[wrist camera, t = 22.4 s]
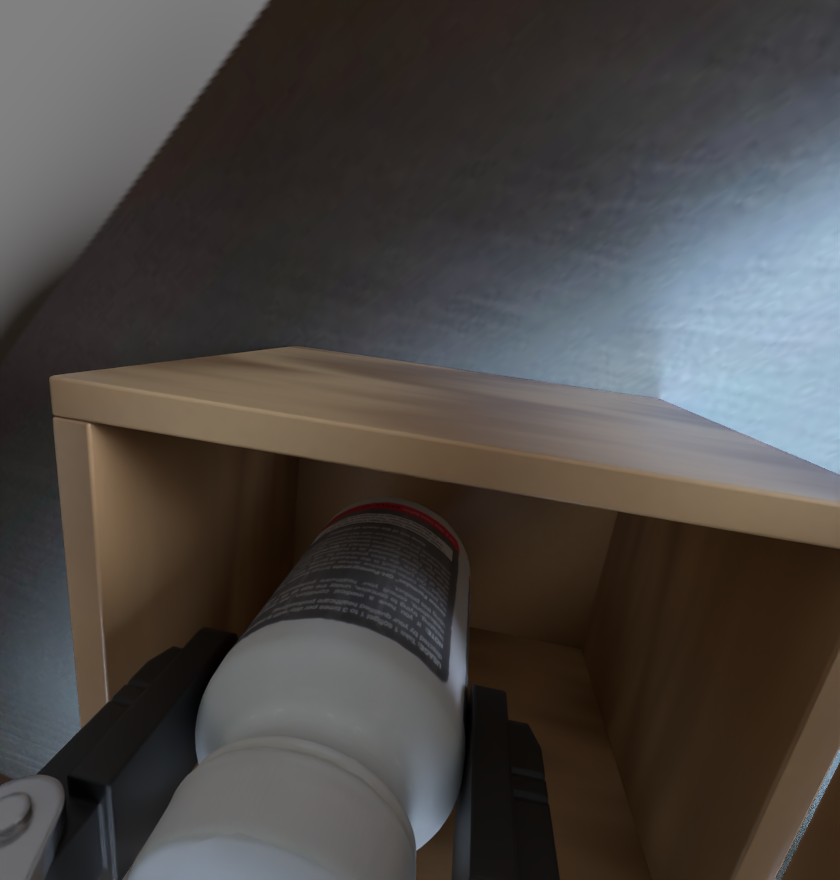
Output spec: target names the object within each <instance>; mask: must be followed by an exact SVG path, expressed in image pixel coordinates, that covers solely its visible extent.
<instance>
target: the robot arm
mask: <svg viewBox="0 0 840 880" xmlns="http://www.w3.org/2000/svg"><path fill="white" fill-rule="evenodd" d="M237 641H238V636H237V634H236V633H231V632H227V631H222V630H217V629H212V628H208V627H204V628H202V629H200V630H199V631H198V632H197V633H196V634H195V635H194V636H193V638H192V639H191V640H190V641H189V642H188V643H187V644H186V645H185V646H184V647H183V648H179V647H175V646H173V647H171V648H169V649H167V650H166V651H164V652H162V653H161V654H159V655H157V656H156V657H154V658H152V659H151V660H149V661H148V662H147V663H146V664H145V665H144V666H143V667H142V668H141V669H140V670H139V671H138V672H137V673H136V674H135V675H134V676H133V677H132V678H131V679H130V680H129V683H128V684H127V685H126V684H125V685H124V686H123V687H122V688H121V689H120V690H119V691H118V692H117V693H116V694H115V695H114V696H113V699H112V701H111V702H109V701H108V702H107V703H106V704H105V706H104V707H103V708H102V709H101V710H100V711H99V712H98V713H97V714H96V715H95V716H94V717H93V718H92V719H91V720H90V721H89V722H88V723H87V724H86V725H85V726H84V727H83V728H82V729H81V730H80V731H79V732H78V733H77V734H76V735H75V736H74V737H73V738H72V739H71V740H70V741H69V742H68V743H67V744H66V745H65V746H64V747H63V748H62V749H61V750H60V751H59V752H58V753H57V754H56V755H55V756H54V757H53V758H52V759H51V761H50V762H49V763H48V764H47V765H46V766H45V767H44V768H43V769H41V770H40V771H39V772H38V773H37V774H36V775H30V776H25V777H21V778H18V779H14V780H12V781H9V782H7V783H5V784H3V785H1V786H0V880H122V879H123V877H124V876H125V874H126V873H127V871H128V870H129V868H130V867H131V865H132V863H133V862H134V860H135V859H136V857H137V856H138V854H139V853H140V851H141V849H142V848H143V846H144V845H145V843H146V842H147V840H148V838H149V837H150V835H151V834H152V832H153V830H154V829H155V827H156V825H157V824H158V822H159V820H160V819H161V817H162V816H163V814H164V812H165V811H166V809H167V807H168V805H169V804H170V801H171V799H172V797H173V795H174V793H175V791H176V789H177V788H178V786H179V785H180V783H181V782H182V781H183V780H184V779H185V777H186V776H187V775H188V774H190V773H191V772H192V770H193V769H194V767H195V765H196V764H197V762H198V759H197V754H196V743H195V727H196V719H197V714H198V709H199V706H200V702H201V699H202V696H203V694H204V692H205V690H206V688H207V685H208V683H209V681H210V679H211V678H212V676H213V675H214V673H215V672H216V670H217V669H218V667H219V665H220V664H221V662H222V661H223V659H224V658H225V656H226V655H227V653H228V652H229V651H230V649H231V648H232V647H233V646H234V645H235V643H236V642H237ZM451 880H560V876H559V869H558V862H557V855H556V848H555V841H554V834H553V827H552V820H551V813H550V806H549V804H548V792H547V785H546V781H545V771H544V764H543V757H542V750H541V747H540V745H539V743H538V741H537V739H536V738H535V736H534V734H533V732H532V730H531V728H530V726H529V724H527V723H522V722H517V721H513V720H508V710H507V696H506V692H505V691H503V690H498V689H494V688H489V687H484V686H479V685H475V684H472V686H471V690H470V695H469V700H468V705H467V712H466V754H465V762H464V770H463V778H462V783H461V787H460V791H459V794H458V797H457V800H456V802H455V821H454V840H453V859H452V878H451Z"/></svg>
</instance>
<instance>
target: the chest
mask: <svg viewBox="0 0 840 880" xmlns="http://www.w3.org/2000/svg"><path fill="white" fill-rule="evenodd" d="M49 382H50V393H51V404H52V413H53V415H55V416H56V417H54V418H53V430H54V441H55V452H56V462H57V473H58V484H59V495H60V506H61V517H62V528H63V538H64V549H65V560H66V571H67V582H68V593H69V604H70V614H71V625H72V636H73V647H74V658H75V669H76V680H77V691H78V701H79V712H80V723H81V729H82V728H83V727H84V726H85V725H86V724H87V723H88V722H89V721H90V720H91V719H92V718H93V717H94V716H95V715H96V714H97V713H98V712H99V711H100V710H101V709H102V708H103V707H104V706H105V704H106V703H107V702H108V701H109V702H111V701H112V699H113V696H114V695H115V694H116V693H117V692H118V691H119V690H120V689H121V688H122V687H123V686H124V685H125V684H126V685H127V684H128V683H129V680H130V679H131V678H132V677H133V676H134V675H135V674H136V673H137V672H138V671H139V670H140V669H141V668H142V667H143V666H144V665H145V664H146V663H147V662H148V661H149V660H151V659H152V658H154V657H156V656H157V655H159V654H161V653H162V652H164V651H166V650H167V649H169V648H171V647H173V646H175V647H179V648H183V647H184V646H185V645H186V644H187V643H188V642H189V641H190V640H191V639H192V638H193V636H194V635H195V634H196V633H197V632H198V631H199V630H200V629H202V628H204V627H208V628H212V629H217V630H222V631H227V632H231V633H236V634H237V636H238V640H239V638H240V637H241V636H242V635H243V634H244V632H245V631H246V629H247V628H248V627H249V625H250V624H251V623H252V621H253V620H254V619H255V617H256V616H257V615H258V614H259V612H260V611H261V610H262V608H263V607H264V606H265V604H266V603H267V602H268V600H269V599H270V598H271V597H272V595H273V594H274V592H275V591H276V590H277V588H278V587H279V586H280V585H281V583H282V582H283V581H284V580H285V578H286V577H287V576H288V574H289V573H290V572H291V570H292V569H293V568H294V566H295V565H296V564H297V562H298V561H299V560H300V559H301V557H302V556H303V554H304V553H305V552H306V550H307V549H308V548H309V546H310V545H311V543H312V542H313V541H314V540H315V538H316V537H317V536H318V534H319V533H320V532H321V530H322V529H323V528H324V527H325V526H326V524H327V523H328V522H329V521H330V520H331V519H332V518H333V517H334V516H335V515H336V514H337V513H339V512H340V511H341V510H343V509H344V508H346V507H347V506H349V505H351V504H353V503H356V502H358V501H361V500H365V499H369V498H375V497H396V498H403V499H406V500H410V501H413V502H416V503H418V504H420V505H422V506H424V507H427V508H428V509H430V510H431V511H433V512H434V513H436V514H437V515H439V516H441V517H442V518H443V519H444V520H445V521H447V522H448V524H449V525H450V526H451V527H452V528H453V530H454V531H455V532H456V534H457V535H458V537H459V538H460V540H461V542H462V544H463V546H464V548H465V551H466V553H467V556H468V561H469V566H470V622H469V652H468V684H467V691H468V700H469V695H470V690H471V686H472V684H475V685H479V686H484V687H489V688H494V689H498V690H503V691H505V692H506V696H507V710H508V720H513V721H517V722H522V723H527V724H529V726H530V728H531V730H532V732H533V734H534V736H535V738H536V739H537V741H538V743H539V745H540V747H541V750H542V757H543V764H544V771H545V781H546V785H547V792H548V804H549V806H550V813H551V820H552V827H553V834H554V841H555V848H556V855H557V862H558V869H559V876H560V880H775V878H776V876H777V874H778V872H779V870H780V868H781V866H782V864H783V862H784V860H785V858H786V856H787V854H788V852H789V850H790V848H791V846H792V844H793V842H794V840H795V838H796V836H797V834H798V831H799V829H800V827H801V825H802V823H803V821H804V819H805V817H806V815H807V813H808V811H809V809H810V807H811V805H812V803H813V801H814V799H815V797H816V795H817V793H818V791H819V789H820V787H821V785H822V783H823V781H824V779H825V777H826V775H827V773H828V771H829V769H830V767H831V765H832V762H833V760H834V758H835V756H836V754H837V752H838V750H839V748H840V475H839V474H836V473H834V472H832V471H829V470H827V469H825V468H822V467H820V466H818V465H815V464H813V463H810V462H808V461H806V460H803V459H801V458H799V457H796V456H794V455H792V454H789V453H787V452H784V451H782V450H780V449H777V448H775V447H773V446H770V445H768V444H765V443H763V442H761V441H758V440H756V439H754V438H751V437H749V436H747V435H744V434H742V433H739V432H737V431H735V430H732V429H730V428H728V427H725V426H723V425H721V424H718V423H716V422H713V421H711V420H709V419H706V418H704V417H702V416H699V415H697V414H695V413H692V412H690V411H687V410H685V409H683V408H680V407H678V406H676V405H673V404H671V403H668V402H666V401H664V400H661V399H657V398H651V397H644V396H637V395H630V394H623V393H616V392H610V391H603V390H596V389H589V388H582V387H575V386H569V385H562V384H555V383H548V382H541V381H534V380H528V379H521V378H514V377H507V376H500V375H493V374H487V373H480V372H473V371H466V370H459V369H452V368H446V367H439V366H432V365H425V364H418V363H411V362H405V361H398V360H391V359H384V358H377V357H370V356H364V355H357V354H350V353H343V352H336V351H329V350H323V349H316V348H309V347H302V346H291V347H282V348H274V349H266V350H258V351H250V352H241V353H233V354H225V355H217V356H209V357H201V358H192V359H184V360H176V361H168V362H160V363H151V364H143V365H135V366H127V367H119V368H110V369H102V370H94V371H86V372H78V373H69V374H61V375H54V376H51V377H50V379H49ZM467 705H468V704H467ZM198 765H199V764H198V762H197V764H196V765H195V767H194V769H196V767H197V766H198ZM194 769H193V770H194ZM193 770H192V771H193ZM454 821H455V804H454V807H453V809H452V811H451V813H450V815H449V816H448V818H447V820H446V821H445V823H444V824H443V825H442V827H441V828H440V829H439V831H438V832H437V833H436V834H435V835H434V836H433V837H432V838H431V839H430V840H429V841H428V842H427V843H425V844H424V845H423V846H422V847H421V848H419V849H418V850H417V851H416V880H451V878H452V859H453V840H454ZM143 847H144V846H143ZM141 850H142V849H141ZM138 855H139V854H138ZM136 858H137V857H136ZM135 860H136V859H135ZM135 860H134V861H135Z"/></svg>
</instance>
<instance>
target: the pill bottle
mask: <svg viewBox="0 0 840 880" xmlns="http://www.w3.org/2000/svg"><path fill="white" fill-rule="evenodd" d="M469 622H470V566H469V561H468V556H467V553H466V551H465V548H464V546H463V544H462V542H461V540H460V538H459V537H458V535H457V534H456V532H455V531H454V530H453V528H452V527H451V526H450V525H449V524H448V522H447V521H445V520H444V519H443V518H442V517H441V516H439V515H437V514H436V513H434V512H433V511H431V510H430V509H428V508H427V507H424V506H422V505H420V504H418V503H416V502H413V501H410V500H406V499H403V498H396V497H375V498H369V499H365V500H361V501H358V502H356V503H353V504H351V505H349V506H347V507H346V508H344V509H343V510H341V511H340V512H339V513H337V514H336V515H335V516H334V517H333V518H332V519H331V520H330V521H329V522H328V523H327V524H326V526H325V527H324V528H323V529H322V530H321V532H320V533H319V534H318V536H317V537H316V538H315V540H314V541H313V542H312V543H311V545H310V546H309V548H308V549H307V550H306V552H305V553H304V554H303V556H302V557H301V559H300V560H299V561H298V562H297V564H296V565H295V566H294V568H293V569H292V570H291V572H290V573H289V574H288V576H287V577H286V578H285V580H284V581H283V582H282V583H281V585H280V586H279V587H278V588H277V590H276V591H275V592H274V594H273V595H272V597H271V598H270V599H269V600H268V602H267V603H266V604H265V606H264V607H263V608H262V610H261V611H260V612H259V614H258V615H257V616H256V617H255V619H254V620H253V621H252V623H251V624H250V625H249V627H248V628H247V629H246V631H245V632H244V634H243V635H242V636H241V637H240V638H239V640H238V641H237V642H236V643H235V645H234V646H233V647H232V648H231V649H230V651H229V652H228V653H227V655H226V656H225V658H224V659H223V661H222V662H221V664H220V665H219V667H218V669H217V670H216V672H215V673H214V675H213V676H212V678H211V679H210V681H209V683H208V685H207V688H206V690H205V692H204V694H203V696H202V699H201V702H200V706H199V709H198V714H197V719H196V727H195V743H196V754H197V759H198V764H199V765H198V766H197V767H196V769H194V770H193V771H192V772H191V773H190V774H188V775H187V776H186V777H185V779H184V780H183V781H182V782H181V783H180V785H179V786H178V788H177V789H176V791H175V793H174V795H173V797H172V799H171V801H170V804H169V805H168V807H167V809H166V811H165V812H164V814H163V816H162V817H161V819H160V820H159V822H158V824H157V825H156V827H155V829H154V830H153V832H152V834H151V835H150V837H149V838H148V840H147V842H146V843H145V845H144V847H143V848H142V850H141V851H140V853H139V855H138V856H137V858H136V860H135V862H134V864H133V866H132V868H131V870H130V873H129V875H128V879H127V880H416V851H417V850H418V849H419V848H421V847H422V846H423V845H424V844H425V843H427V842H428V841H429V840H430V839H431V838H432V837H433V836H434V835H435V834H436V833H437V832H438V831H439V829H440V828H441V827H442V825H443V824H444V823H445V821H446V820H447V818H448V816H449V815H450V813H451V811H452V809H453V807H454V804H455V802H456V800H457V797H458V794H459V791H460V787H461V783H462V778H463V770H464V762H465V754H466V712H467V704H468V691H467V684H468V652H469Z"/></svg>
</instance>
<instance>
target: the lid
mask: <svg viewBox="0 0 840 880" xmlns="http://www.w3.org/2000/svg"><path fill="white" fill-rule="evenodd" d="M781 880H840V763H839V765H838V767H837V769H836V771H835V773H834V775H833V777H832V779H831V781H830V783H829V785H828V787H827V789H826V791H825V793H824V795H823V797H822V799H821V801H820V803H819V805H818V807H817V809H816V811H815V813H814V815H813V817H812V819H811V821H810V823H809V825H808V827H807V829H806V831H805V833H804V835H803V837H802V839H801V841H800V843H799V845H798V847H797V849H796V851H795V853H794V855H793V857H792V859H791V861H790V863H789V865H788V867H787V869H786V871H785V873H784V875H783V877H782V879H781Z"/></svg>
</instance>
